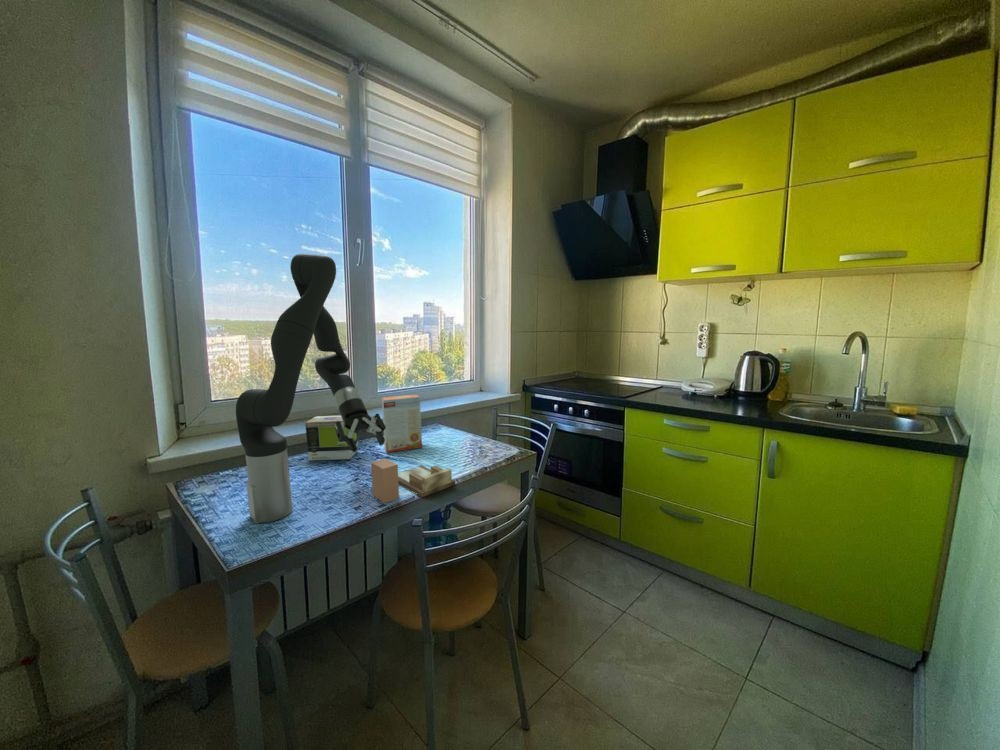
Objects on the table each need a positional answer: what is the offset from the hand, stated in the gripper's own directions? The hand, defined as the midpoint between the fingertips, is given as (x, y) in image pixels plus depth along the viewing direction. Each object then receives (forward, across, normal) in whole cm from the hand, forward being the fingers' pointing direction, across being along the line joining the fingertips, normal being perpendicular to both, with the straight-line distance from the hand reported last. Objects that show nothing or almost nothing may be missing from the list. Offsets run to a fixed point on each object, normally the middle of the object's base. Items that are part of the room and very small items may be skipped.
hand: (369, 447), depth 115 cm
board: (+14, +13, +3) cm, 20 cm away
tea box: (-16, +3, +35) cm, 38 cm away
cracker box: (-8, +26, +27) cm, 38 cm away
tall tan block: (+15, 0, +3) cm, 15 cm away
